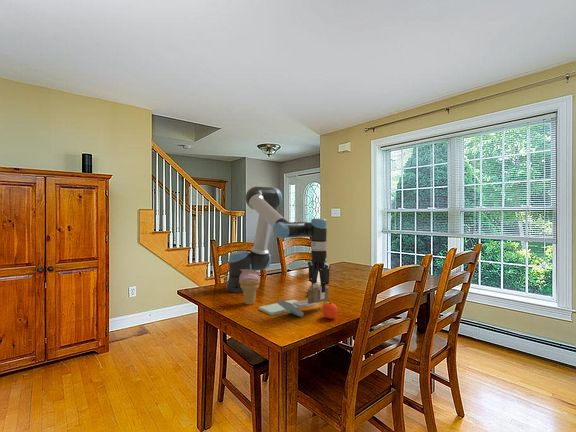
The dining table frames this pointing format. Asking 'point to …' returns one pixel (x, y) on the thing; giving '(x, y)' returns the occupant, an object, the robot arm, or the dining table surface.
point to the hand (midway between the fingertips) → (318, 297)
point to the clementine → (329, 310)
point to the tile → (290, 308)
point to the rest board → (276, 308)
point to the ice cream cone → (249, 284)
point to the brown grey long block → (312, 298)
